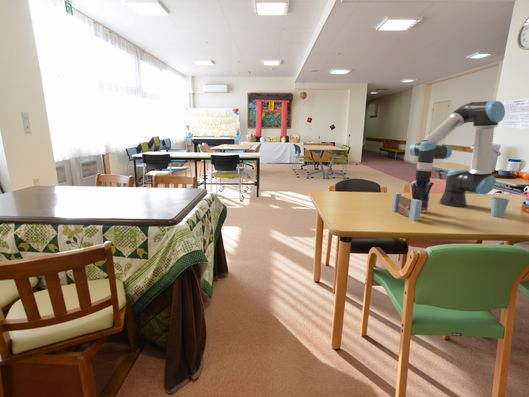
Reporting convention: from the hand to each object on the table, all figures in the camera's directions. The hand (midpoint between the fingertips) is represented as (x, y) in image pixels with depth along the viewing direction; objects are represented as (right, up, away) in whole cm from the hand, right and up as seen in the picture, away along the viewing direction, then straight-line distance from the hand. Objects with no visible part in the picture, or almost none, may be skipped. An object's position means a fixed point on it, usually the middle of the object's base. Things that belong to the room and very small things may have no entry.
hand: (417, 211), depth 166 cm
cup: (+48, -3, +4) cm, 48 cm away
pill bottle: (+7, -1, +11) cm, 13 cm away
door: (-7, -2, +2) cm, 8 cm away
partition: (-7, -2, +2) cm, 7 cm away
